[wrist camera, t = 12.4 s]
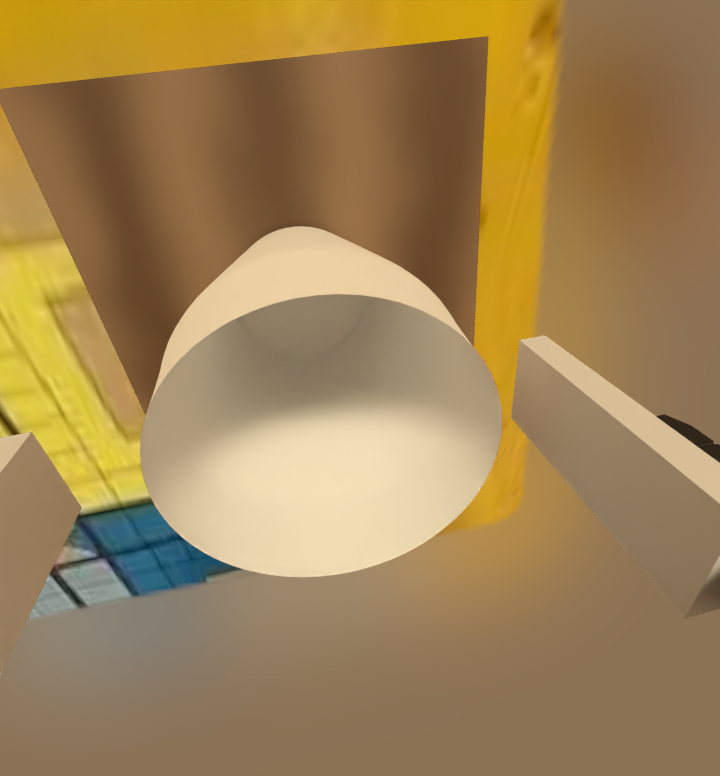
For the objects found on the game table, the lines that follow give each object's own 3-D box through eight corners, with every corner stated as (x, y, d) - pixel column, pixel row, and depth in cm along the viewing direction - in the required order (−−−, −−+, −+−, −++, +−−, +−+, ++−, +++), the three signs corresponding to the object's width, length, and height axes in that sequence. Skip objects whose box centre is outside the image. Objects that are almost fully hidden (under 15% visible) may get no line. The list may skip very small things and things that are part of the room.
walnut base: (183, 428, 28) (171, 469, 24) (46, 96, 18) (-7, 89, 15) (448, 380, 29) (470, 412, 26) (451, 51, 20) (488, 36, 16)
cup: (378, 382, 24) (456, 571, 14) (207, 375, 22) (152, 591, 12) (411, 210, 19) (564, 303, 9) (200, 181, 17) (98, 261, 7)
